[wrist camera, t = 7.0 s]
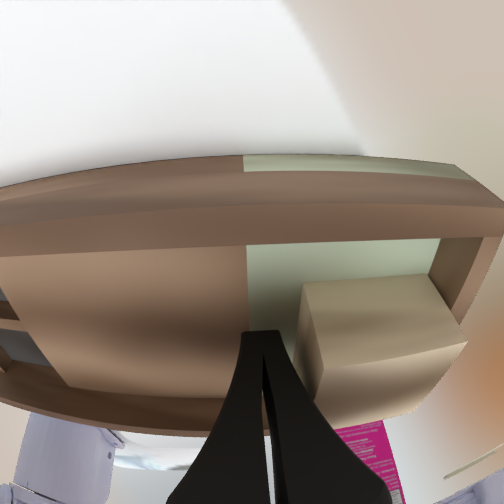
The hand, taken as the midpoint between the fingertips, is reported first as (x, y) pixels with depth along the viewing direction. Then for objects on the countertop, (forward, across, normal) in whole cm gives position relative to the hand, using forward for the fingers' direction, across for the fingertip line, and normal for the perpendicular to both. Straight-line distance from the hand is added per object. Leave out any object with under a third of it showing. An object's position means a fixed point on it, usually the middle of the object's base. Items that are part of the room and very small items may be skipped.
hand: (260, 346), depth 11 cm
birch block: (+1, -4, 0) cm, 4 cm away
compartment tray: (+2, +5, 0) cm, 6 cm away
